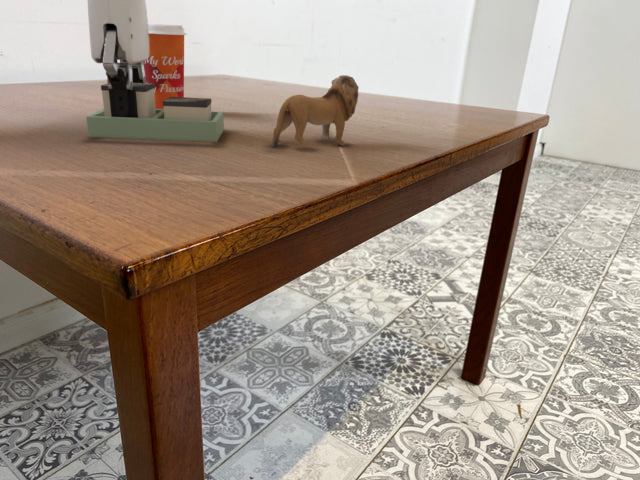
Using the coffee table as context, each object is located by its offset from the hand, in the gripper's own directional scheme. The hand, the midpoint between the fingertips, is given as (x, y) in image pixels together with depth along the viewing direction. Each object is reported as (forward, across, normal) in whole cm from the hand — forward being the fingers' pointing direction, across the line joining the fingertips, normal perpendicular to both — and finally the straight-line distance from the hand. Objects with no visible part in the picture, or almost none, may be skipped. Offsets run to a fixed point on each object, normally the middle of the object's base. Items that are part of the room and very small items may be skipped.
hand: (130, 116), depth 69 cm
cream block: (0, 0, 0) cm, 0 cm away
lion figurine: (+3, +1, +25) cm, 25 cm away
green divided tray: (+3, 0, +4) cm, 5 cm away
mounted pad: (+2, 0, +8) cm, 8 cm away
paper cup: (+3, -18, +1) cm, 18 cm away
